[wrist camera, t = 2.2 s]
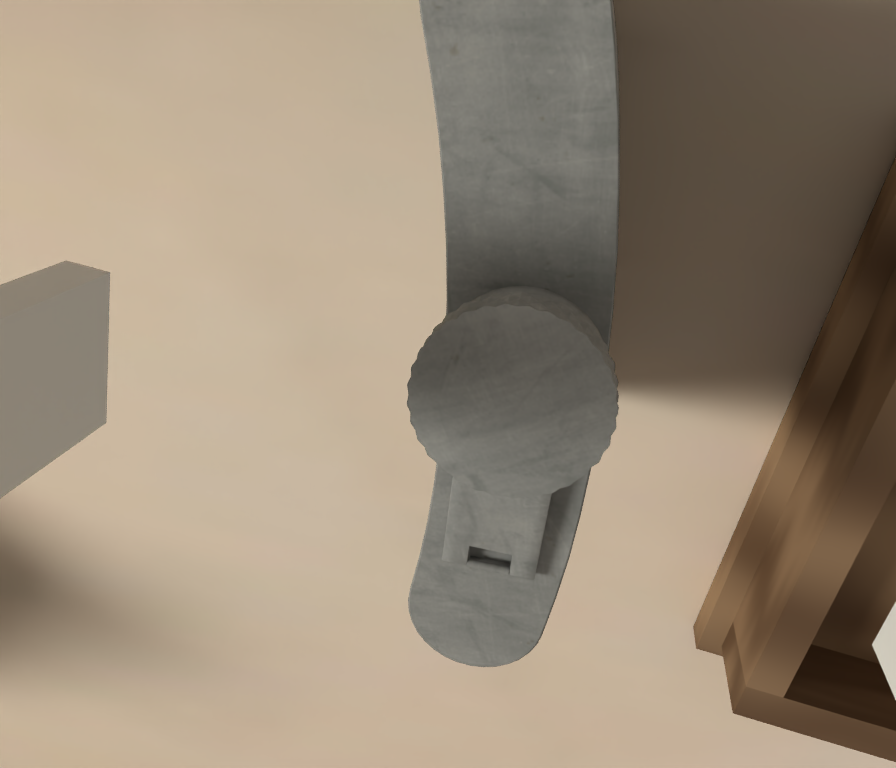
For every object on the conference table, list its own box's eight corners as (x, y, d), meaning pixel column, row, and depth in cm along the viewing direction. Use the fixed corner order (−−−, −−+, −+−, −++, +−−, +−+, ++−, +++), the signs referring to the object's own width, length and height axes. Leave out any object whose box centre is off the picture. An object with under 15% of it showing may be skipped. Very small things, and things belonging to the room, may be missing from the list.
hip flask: (530, -28, 29) (378, -153, 11) (645, -25, 28) (694, -155, 10) (502, 379, 35) (378, 737, 17) (596, 389, 34) (571, 774, 16)
